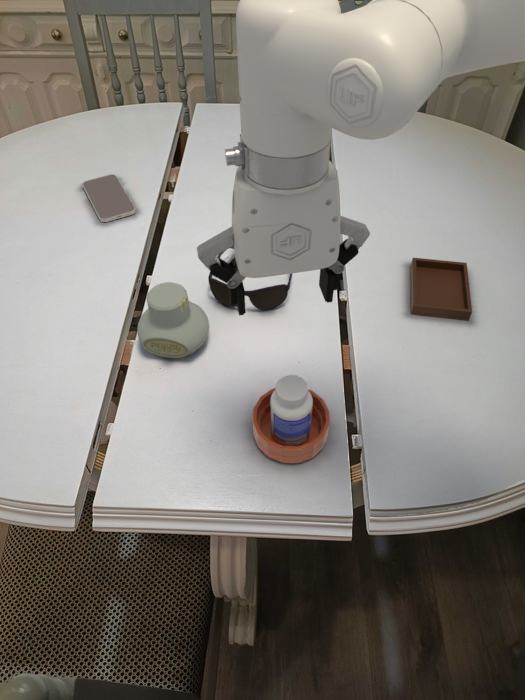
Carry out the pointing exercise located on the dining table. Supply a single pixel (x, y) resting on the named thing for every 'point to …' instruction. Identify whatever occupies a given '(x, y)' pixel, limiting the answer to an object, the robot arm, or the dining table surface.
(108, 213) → the smartphone
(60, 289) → the dining table surface
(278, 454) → the bowl
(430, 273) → the tray
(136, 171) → the dining table surface
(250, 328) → the dining table surface
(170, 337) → the air freshener
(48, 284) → the dining table surface
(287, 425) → the pill bottle
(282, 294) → the sunglasses
